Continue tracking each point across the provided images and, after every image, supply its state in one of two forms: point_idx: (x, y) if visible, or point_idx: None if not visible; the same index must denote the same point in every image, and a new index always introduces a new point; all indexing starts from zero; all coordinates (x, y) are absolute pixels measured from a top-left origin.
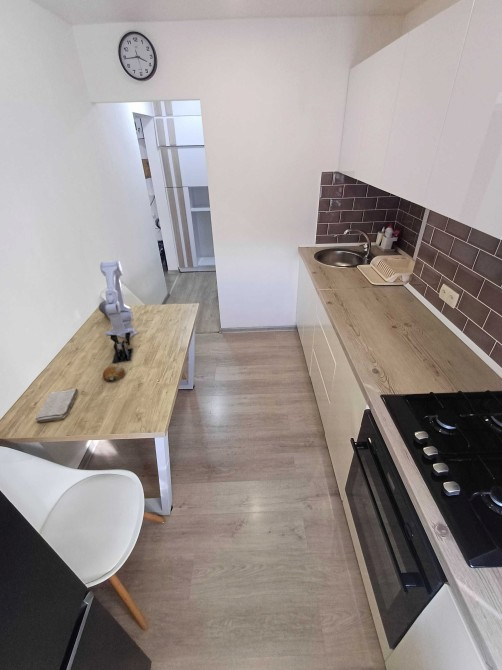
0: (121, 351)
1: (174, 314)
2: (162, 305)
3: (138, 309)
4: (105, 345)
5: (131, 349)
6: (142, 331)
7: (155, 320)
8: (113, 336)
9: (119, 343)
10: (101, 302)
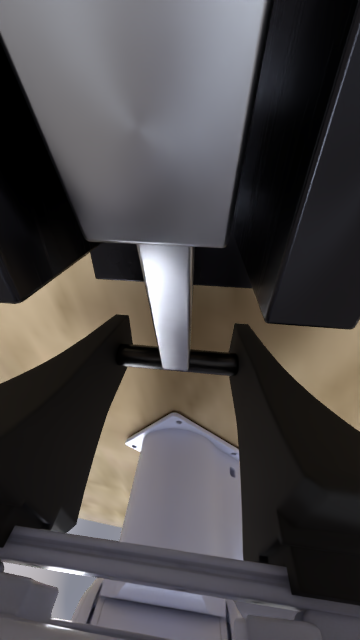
0: (212, 249)
1: None
2: (80, 517)
3: None
4: (340, 400)
5: (98, 254)
6: (104, 439)
7: None
8: (330, 536)
9: (167, 216)
10: None
